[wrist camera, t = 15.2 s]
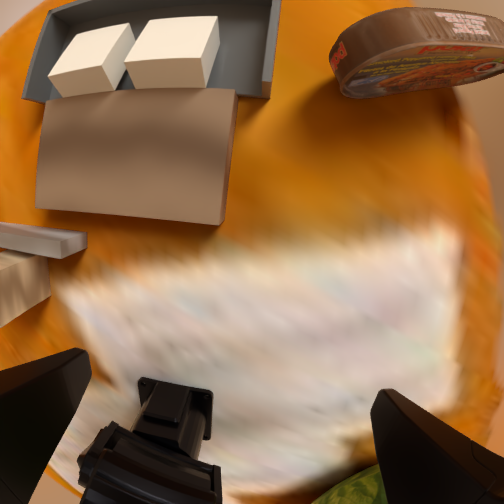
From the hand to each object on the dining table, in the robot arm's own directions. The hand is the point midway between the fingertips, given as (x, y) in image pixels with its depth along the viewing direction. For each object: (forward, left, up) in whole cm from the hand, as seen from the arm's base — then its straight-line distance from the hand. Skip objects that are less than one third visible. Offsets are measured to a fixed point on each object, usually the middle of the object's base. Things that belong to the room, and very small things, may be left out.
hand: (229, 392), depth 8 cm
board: (+7, +9, -12) cm, 17 cm away
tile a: (+13, +6, -11) cm, 18 cm away
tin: (+16, -10, -13) cm, 23 cm away
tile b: (+13, +12, -11) cm, 21 cm away
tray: (+15, +9, -12) cm, 22 cm away
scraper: (-3, +19, -12) cm, 23 cm away
